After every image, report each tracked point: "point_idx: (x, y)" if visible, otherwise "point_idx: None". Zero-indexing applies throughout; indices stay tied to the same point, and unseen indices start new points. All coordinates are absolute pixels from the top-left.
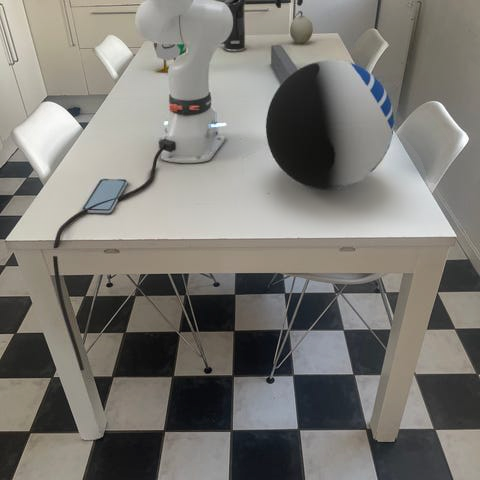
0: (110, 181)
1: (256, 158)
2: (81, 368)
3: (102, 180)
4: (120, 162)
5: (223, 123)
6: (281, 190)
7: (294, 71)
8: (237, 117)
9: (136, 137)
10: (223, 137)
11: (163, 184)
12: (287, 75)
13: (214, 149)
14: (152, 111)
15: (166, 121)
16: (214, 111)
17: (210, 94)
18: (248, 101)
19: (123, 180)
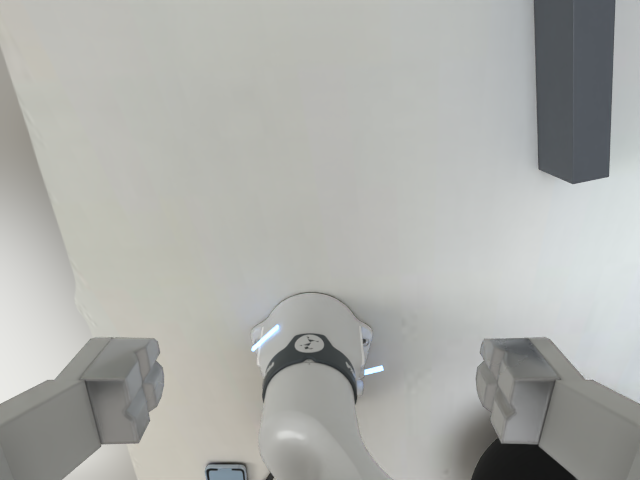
0: (221, 472)
1: (432, 387)
2: None
3: (209, 471)
4: (207, 410)
5: (378, 371)
6: (464, 464)
7: (597, 26)
8: (391, 218)
9: (196, 326)
10: (371, 336)
11: None
12: (565, 28)
13: (359, 379)
14: (176, 192)
15: (255, 346)
16: (360, 366)
17: (356, 394)
18: (417, 106)
19: (239, 470)
